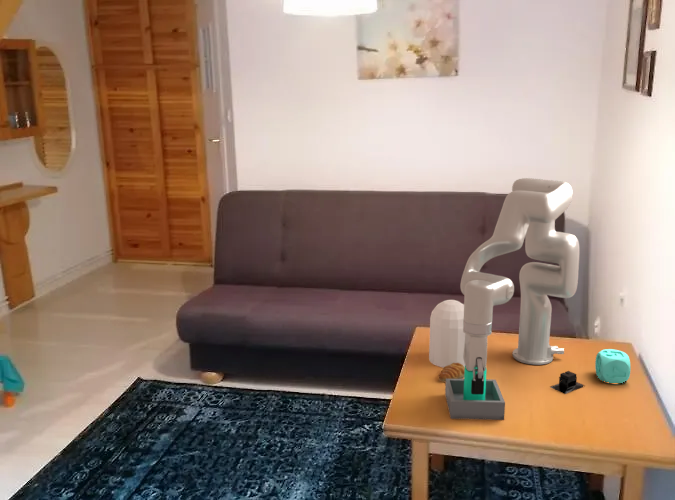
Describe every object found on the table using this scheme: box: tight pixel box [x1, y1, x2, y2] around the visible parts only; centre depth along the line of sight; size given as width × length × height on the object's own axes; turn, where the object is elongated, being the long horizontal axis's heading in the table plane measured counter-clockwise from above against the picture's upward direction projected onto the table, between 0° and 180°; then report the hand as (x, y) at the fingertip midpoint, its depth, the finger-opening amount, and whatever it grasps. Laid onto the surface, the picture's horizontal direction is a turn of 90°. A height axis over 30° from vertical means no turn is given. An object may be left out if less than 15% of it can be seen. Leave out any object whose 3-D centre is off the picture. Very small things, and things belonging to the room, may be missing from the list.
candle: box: [463, 366, 488, 400], centre depth 182 cm, size 6×6×12 cm
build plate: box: [549, 370, 584, 395], centre depth 194 cm, size 12×7×5 cm, turn 123°
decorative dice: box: [594, 348, 632, 384], centre depth 199 cm, size 8×8×8 cm
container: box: [428, 299, 465, 369], centre depth 212 cm, size 13×13×20 cm
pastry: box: [438, 363, 465, 383], centre depth 201 cm, size 9×7×4 cm
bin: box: [444, 378, 506, 421], centre depth 182 cm, size 14×14×5 cm
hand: (474, 385), depth 181 cm, fingers open, 9 cm apart
